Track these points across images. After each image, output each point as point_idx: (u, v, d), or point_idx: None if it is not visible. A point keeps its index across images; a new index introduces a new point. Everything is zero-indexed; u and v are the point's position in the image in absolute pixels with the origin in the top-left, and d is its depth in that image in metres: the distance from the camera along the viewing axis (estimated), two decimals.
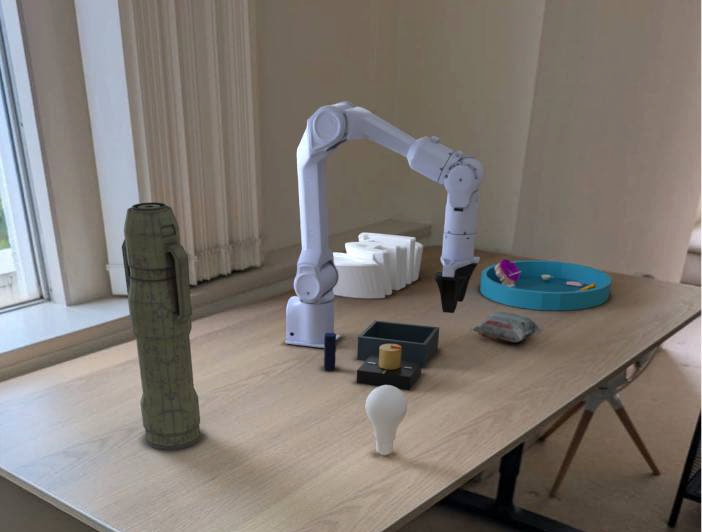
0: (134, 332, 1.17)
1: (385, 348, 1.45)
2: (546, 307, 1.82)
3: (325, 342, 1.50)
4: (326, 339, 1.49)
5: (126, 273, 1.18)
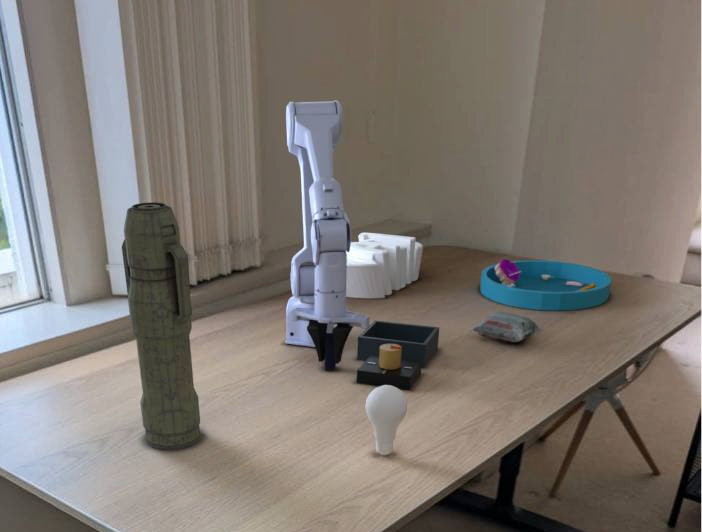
0: (134, 332, 1.17)
1: (385, 348, 1.45)
2: (546, 307, 1.82)
3: (325, 342, 1.50)
4: (326, 339, 1.49)
5: (126, 273, 1.18)
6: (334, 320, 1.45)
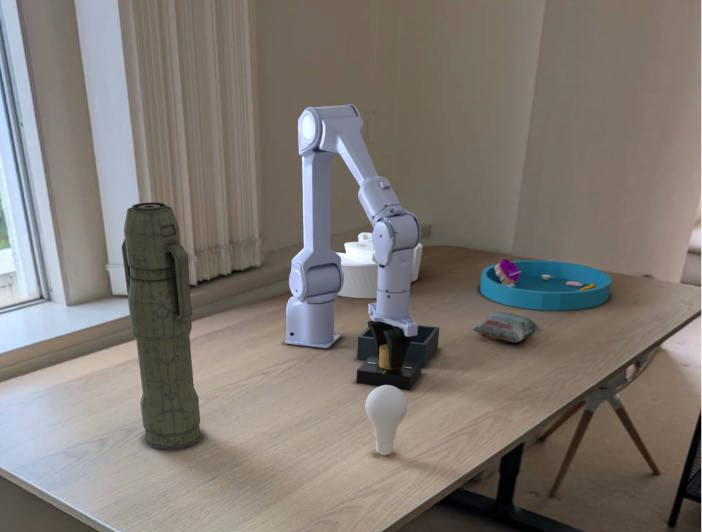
0: (134, 332, 1.17)
1: (385, 348, 1.45)
2: (546, 307, 1.82)
3: None
4: None
5: (126, 273, 1.18)
6: (383, 320, 1.40)
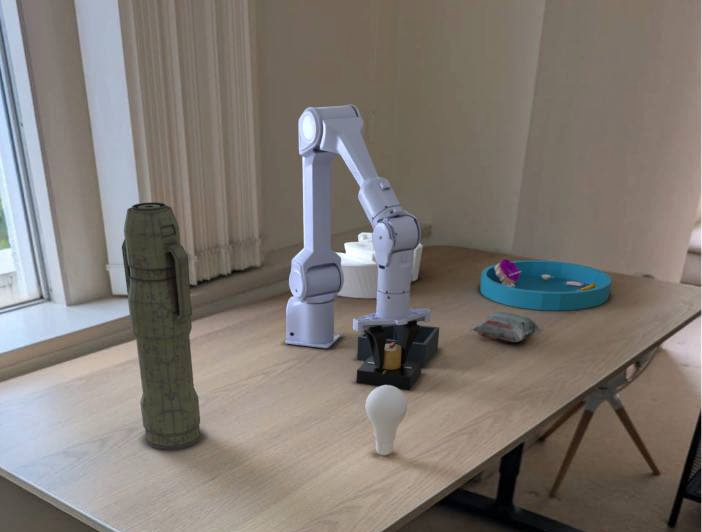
0: (134, 332, 1.17)
1: (393, 349, 1.44)
2: (546, 307, 1.82)
3: None
4: None
5: (126, 273, 1.18)
6: (408, 319, 1.41)
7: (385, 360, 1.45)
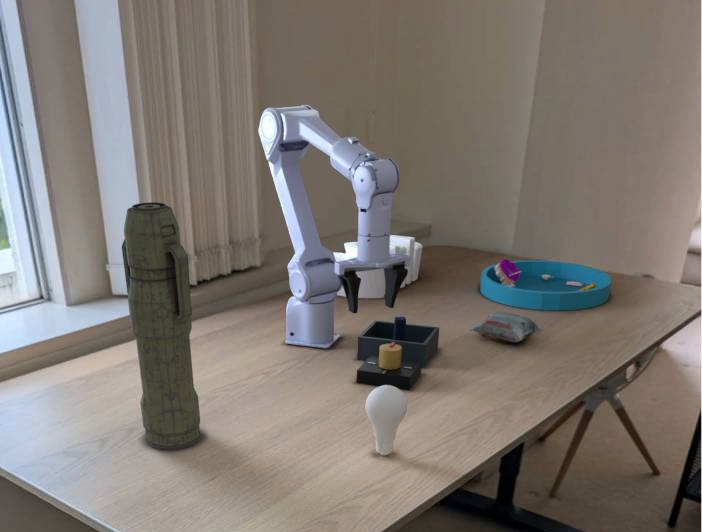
0: (134, 332, 1.17)
1: (393, 349, 1.44)
2: (546, 307, 1.82)
3: (395, 325, 1.55)
4: (397, 322, 1.55)
5: (126, 273, 1.18)
6: (388, 263, 1.44)
7: (385, 360, 1.45)
